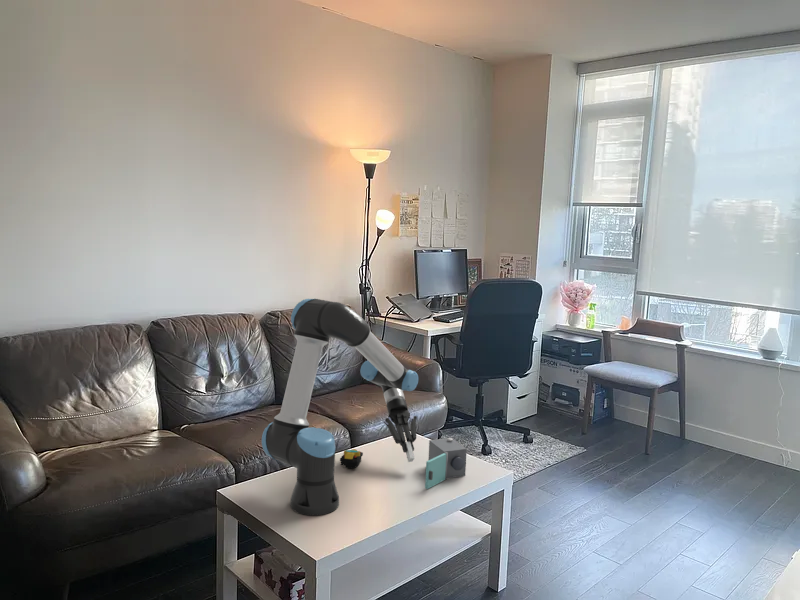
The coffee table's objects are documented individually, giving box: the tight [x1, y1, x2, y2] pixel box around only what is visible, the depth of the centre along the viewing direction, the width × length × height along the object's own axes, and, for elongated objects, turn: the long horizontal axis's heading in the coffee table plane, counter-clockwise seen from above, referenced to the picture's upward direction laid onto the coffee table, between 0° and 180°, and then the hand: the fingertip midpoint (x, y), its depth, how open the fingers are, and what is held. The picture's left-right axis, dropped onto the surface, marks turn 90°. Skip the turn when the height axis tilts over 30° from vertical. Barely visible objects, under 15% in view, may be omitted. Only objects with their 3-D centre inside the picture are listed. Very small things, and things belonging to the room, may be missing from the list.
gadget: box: [339, 448, 364, 469], centre depth 225 cm, size 6×13×6 cm, turn 171°
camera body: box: [427, 437, 467, 479], centre depth 221 cm, size 9×14×11 cm, turn 23°
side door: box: [424, 452, 448, 490], centre depth 209 cm, size 12×2×10 cm, turn 142°
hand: (411, 459), depth 218 cm, fingers closed
